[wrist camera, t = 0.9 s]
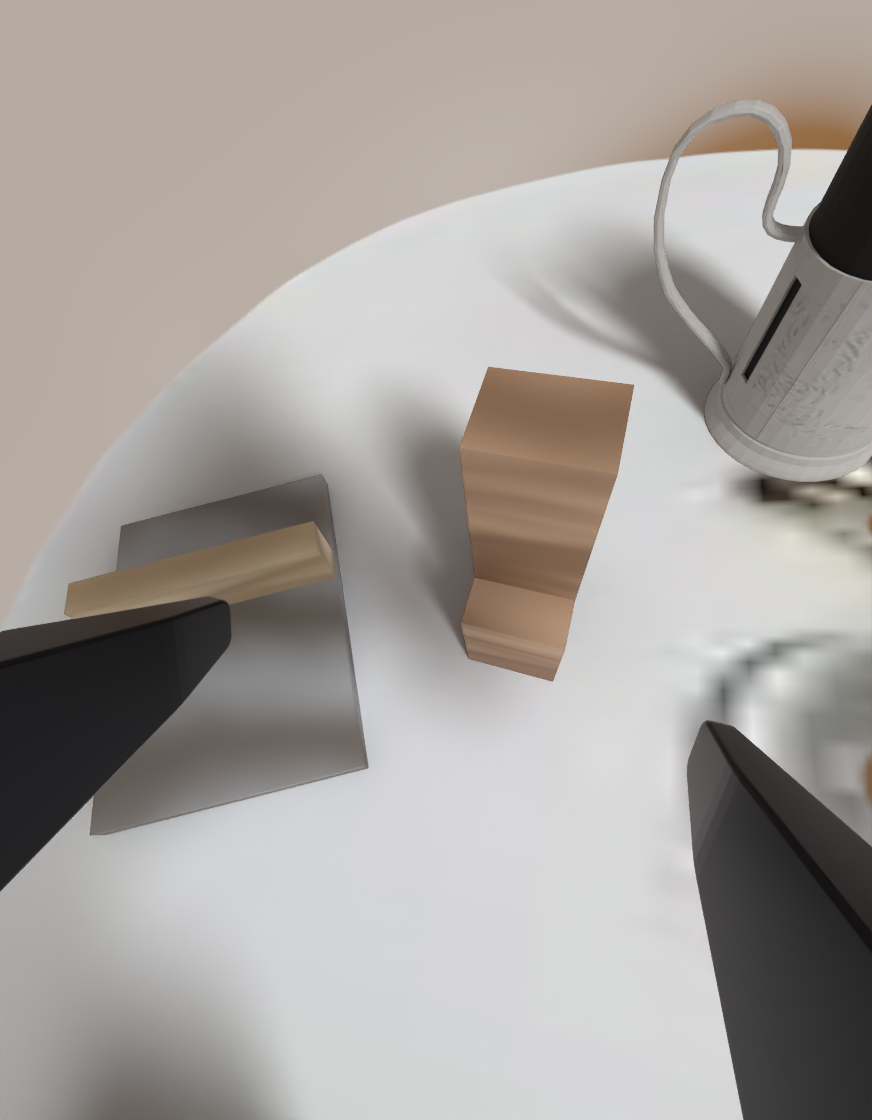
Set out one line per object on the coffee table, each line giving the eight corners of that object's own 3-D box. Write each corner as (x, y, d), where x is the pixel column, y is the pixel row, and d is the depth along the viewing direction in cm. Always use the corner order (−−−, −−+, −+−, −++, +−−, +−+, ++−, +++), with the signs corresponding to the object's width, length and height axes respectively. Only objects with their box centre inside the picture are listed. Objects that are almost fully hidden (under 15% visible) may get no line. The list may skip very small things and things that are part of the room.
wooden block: (552, 681, 23) (604, 544, 11) (468, 658, 24) (436, 511, 12) (580, 550, 25) (643, 334, 14) (504, 534, 26) (505, 320, 15)
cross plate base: (368, 768, 22) (342, 759, 18) (106, 834, 22) (30, 838, 18) (327, 484, 29) (303, 439, 26) (132, 534, 29) (82, 496, 26)
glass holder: (879, 498, 25) (1310, 137, 12) (593, 441, 29) (671, 118, 15) (879, 376, 28) (1213, -12, 15) (624, 339, 32) (710, 2, 19)
